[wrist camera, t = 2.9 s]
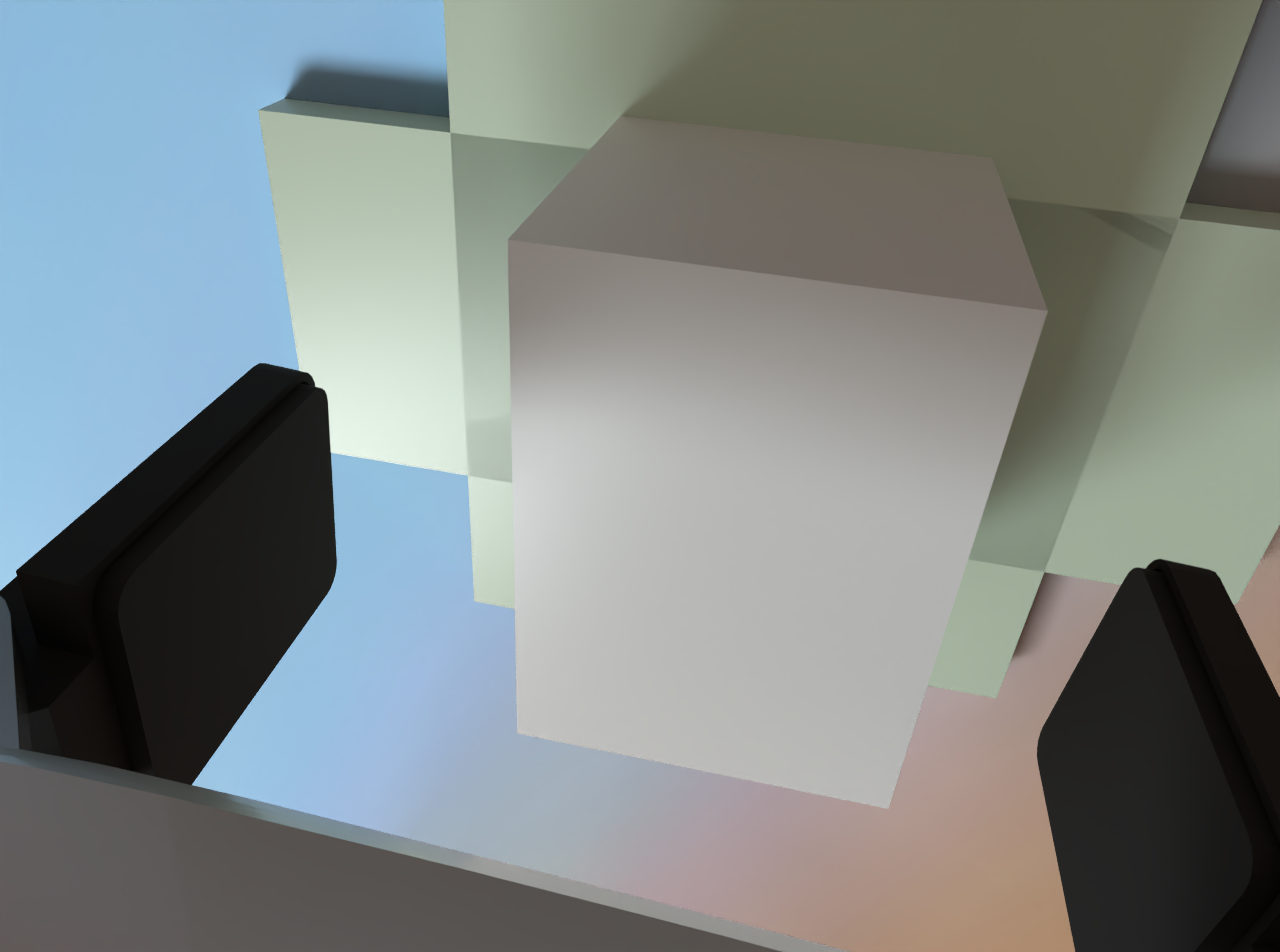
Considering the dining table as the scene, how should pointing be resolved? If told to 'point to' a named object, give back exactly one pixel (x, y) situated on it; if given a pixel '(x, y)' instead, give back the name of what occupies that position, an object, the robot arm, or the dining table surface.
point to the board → (888, 65)
